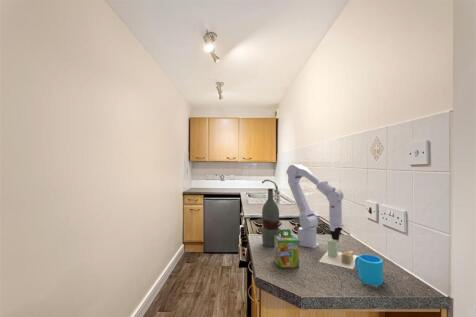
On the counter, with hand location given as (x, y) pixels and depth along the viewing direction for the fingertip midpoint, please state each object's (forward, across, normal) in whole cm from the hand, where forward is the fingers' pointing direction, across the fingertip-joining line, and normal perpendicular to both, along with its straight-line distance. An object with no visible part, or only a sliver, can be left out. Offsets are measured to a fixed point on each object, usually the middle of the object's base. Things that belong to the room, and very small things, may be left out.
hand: (335, 242), depth 121 cm
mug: (+5, -21, -16) cm, 27 cm away
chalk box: (+5, -26, +15) cm, 30 cm away
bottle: (+5, -7, +32) cm, 33 cm away
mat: (+5, -8, -4) cm, 10 cm away
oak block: (+3, -6, -7) cm, 9 cm away
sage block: (+4, -6, 0) cm, 7 cm away
